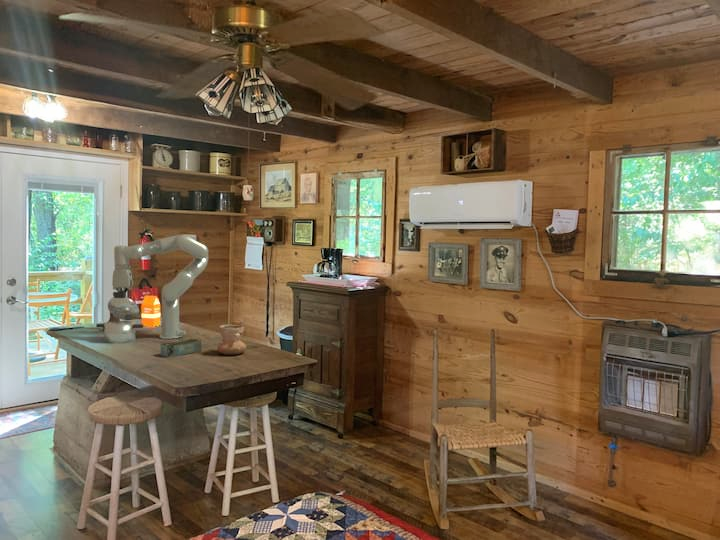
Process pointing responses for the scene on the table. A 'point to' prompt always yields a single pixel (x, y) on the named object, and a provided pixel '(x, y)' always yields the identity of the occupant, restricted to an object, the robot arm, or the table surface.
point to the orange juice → (151, 311)
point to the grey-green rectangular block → (180, 347)
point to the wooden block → (112, 319)
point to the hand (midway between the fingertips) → (122, 299)
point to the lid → (123, 306)
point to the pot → (120, 331)
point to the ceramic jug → (231, 340)
